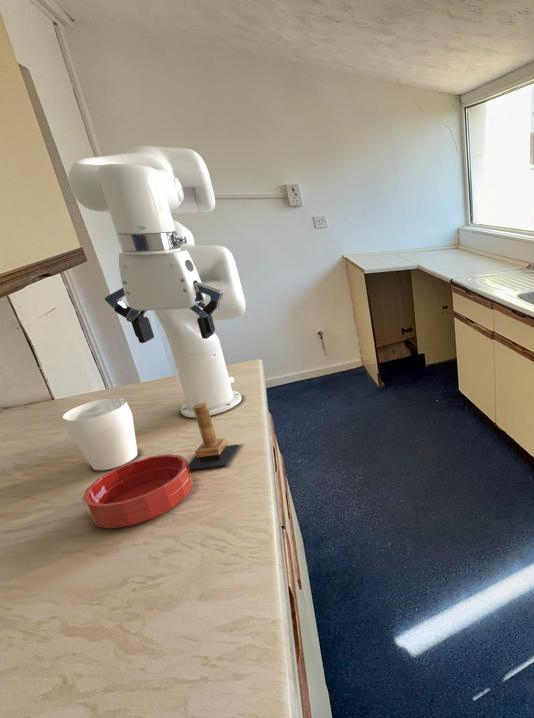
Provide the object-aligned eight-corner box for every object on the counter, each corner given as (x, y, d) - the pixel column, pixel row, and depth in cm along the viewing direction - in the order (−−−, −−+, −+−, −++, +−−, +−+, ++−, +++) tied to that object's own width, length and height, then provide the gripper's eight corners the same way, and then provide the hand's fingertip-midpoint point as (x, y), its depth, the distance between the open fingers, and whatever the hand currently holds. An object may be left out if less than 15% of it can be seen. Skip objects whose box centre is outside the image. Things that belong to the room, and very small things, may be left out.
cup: (107, 477, 76) (85, 423, 72) (71, 471, 77) (48, 417, 73) (156, 450, 84) (139, 399, 80) (123, 444, 86) (104, 395, 82)
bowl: (126, 482, 74) (117, 460, 73) (206, 471, 77) (200, 450, 76) (72, 537, 62) (60, 512, 61) (169, 522, 65) (161, 498, 64)
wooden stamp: (207, 450, 83) (193, 401, 79) (229, 448, 84) (216, 399, 80) (198, 462, 79) (182, 411, 75) (220, 459, 80) (206, 409, 76)
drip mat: (202, 450, 84) (201, 448, 84) (239, 446, 85) (238, 444, 85) (185, 471, 77) (184, 469, 77) (225, 466, 79) (225, 464, 79)
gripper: (218, 240, 72) (239, 328, 78) (104, 242, 68) (135, 335, 74) (198, 244, 65) (223, 341, 71) (70, 247, 61) (107, 349, 67)
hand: (178, 338), depth 73 cm, fingers open, 9 cm apart
